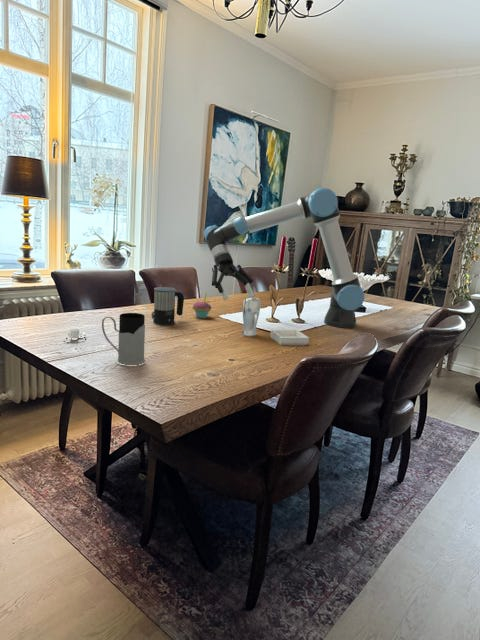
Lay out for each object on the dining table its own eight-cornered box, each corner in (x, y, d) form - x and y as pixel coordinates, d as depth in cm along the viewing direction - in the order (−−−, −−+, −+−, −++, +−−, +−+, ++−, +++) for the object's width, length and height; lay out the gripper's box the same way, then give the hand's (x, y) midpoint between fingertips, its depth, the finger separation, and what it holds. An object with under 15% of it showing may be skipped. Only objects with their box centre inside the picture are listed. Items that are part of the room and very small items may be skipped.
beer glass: (256, 337, 174) (259, 301, 171) (239, 335, 176) (242, 299, 172) (258, 333, 181) (262, 298, 178) (242, 331, 182) (245, 296, 179)
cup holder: (296, 336, 181) (297, 329, 180) (308, 345, 170) (309, 337, 170) (270, 336, 178) (271, 329, 177) (280, 345, 167) (281, 337, 166)
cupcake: (214, 317, 203) (215, 292, 201) (203, 320, 196) (204, 294, 194) (199, 313, 208) (201, 289, 205) (188, 316, 201) (189, 291, 198)
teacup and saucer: (82, 336, 160) (82, 325, 159) (92, 341, 154) (92, 330, 153) (58, 339, 154) (58, 328, 153) (68, 345, 148) (68, 334, 147)
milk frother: (164, 326, 180) (165, 291, 177) (136, 319, 188) (137, 285, 185) (185, 321, 192) (187, 288, 189) (159, 314, 200) (160, 282, 197)
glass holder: (138, 368, 131) (140, 320, 128) (95, 362, 134) (95, 314, 130) (149, 359, 140) (151, 314, 136) (108, 353, 142) (108, 309, 138)
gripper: (241, 262, 199) (258, 301, 191) (193, 262, 184) (210, 304, 176) (249, 252, 193) (267, 291, 185) (201, 251, 179) (218, 294, 171)
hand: (239, 298), depth 181 cm, fingers open, 13 cm apart
